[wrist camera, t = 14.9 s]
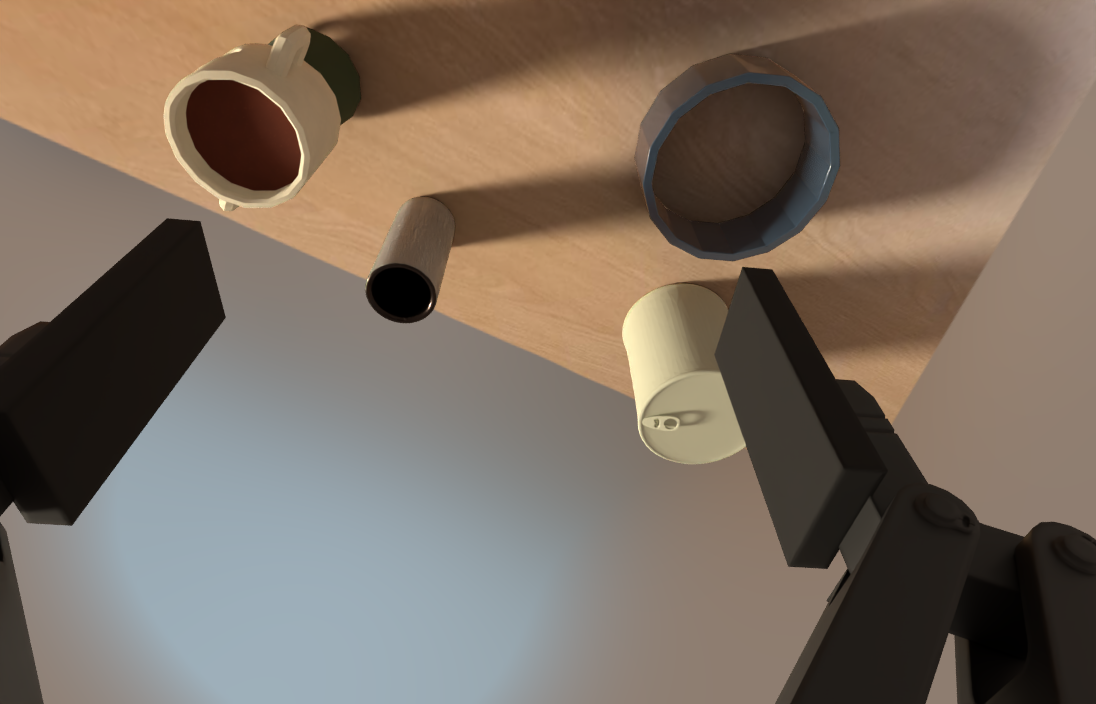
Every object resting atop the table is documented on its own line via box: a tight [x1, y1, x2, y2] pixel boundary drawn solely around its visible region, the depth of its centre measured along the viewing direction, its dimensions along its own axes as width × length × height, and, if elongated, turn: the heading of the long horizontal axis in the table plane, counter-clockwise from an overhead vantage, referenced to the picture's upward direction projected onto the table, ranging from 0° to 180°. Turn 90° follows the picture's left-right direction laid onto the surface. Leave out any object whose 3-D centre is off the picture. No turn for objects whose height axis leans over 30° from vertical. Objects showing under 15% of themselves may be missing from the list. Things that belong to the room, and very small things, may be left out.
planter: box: [365, 197, 455, 323], centre depth 44 cm, size 4×4×10 cm
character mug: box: [164, 25, 361, 211], centre depth 36 cm, size 11×7×13 cm, turn 147°
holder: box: [635, 54, 840, 261], centre depth 42 cm, size 12×12×5 cm
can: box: [623, 283, 746, 464], centre depth 49 cm, size 9×9×12 cm
